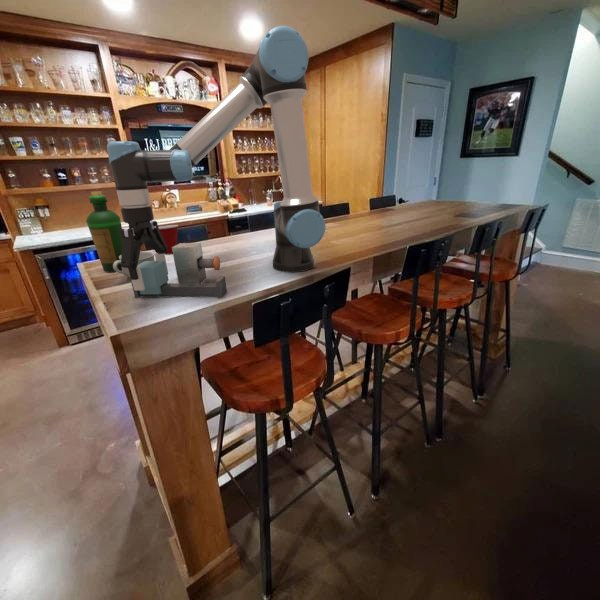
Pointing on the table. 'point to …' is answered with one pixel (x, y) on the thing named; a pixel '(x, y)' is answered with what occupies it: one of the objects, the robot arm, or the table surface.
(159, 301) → the table surface
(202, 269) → the cabinet
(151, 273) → the carriage
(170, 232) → the plastic cup
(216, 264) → the button
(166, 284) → the rail
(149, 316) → the table surface
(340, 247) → the table surface
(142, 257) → the teacup
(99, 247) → the bottle
